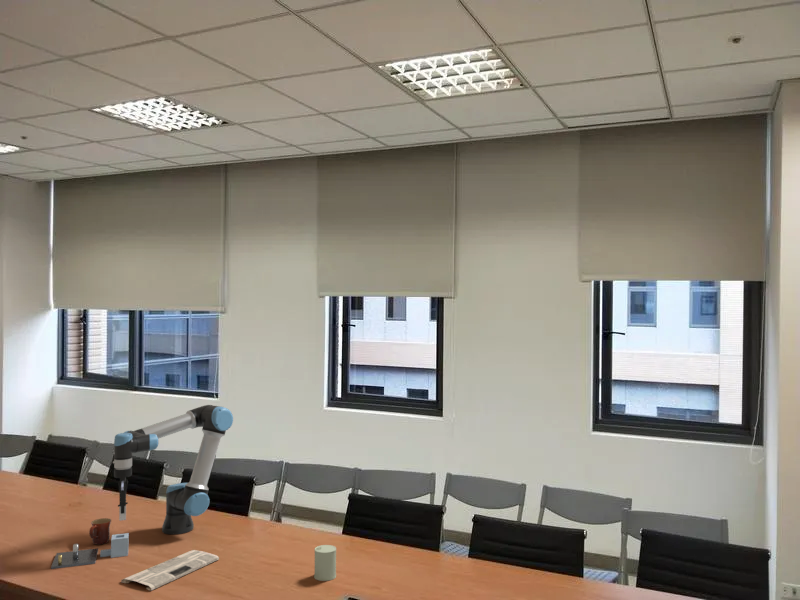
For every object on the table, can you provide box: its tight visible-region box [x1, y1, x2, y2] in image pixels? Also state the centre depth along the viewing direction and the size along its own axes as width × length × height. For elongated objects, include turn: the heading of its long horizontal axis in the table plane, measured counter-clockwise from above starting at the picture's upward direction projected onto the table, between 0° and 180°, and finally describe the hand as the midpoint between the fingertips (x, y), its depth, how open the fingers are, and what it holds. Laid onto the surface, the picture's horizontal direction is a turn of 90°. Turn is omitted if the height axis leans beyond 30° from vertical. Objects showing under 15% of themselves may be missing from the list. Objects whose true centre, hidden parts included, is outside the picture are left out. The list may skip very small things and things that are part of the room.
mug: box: [88, 517, 112, 546], centre depth 298 cm, size 12×9×10 cm
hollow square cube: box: [99, 532, 130, 559], centre depth 284 cm, size 12×7×8 cm, turn 112°
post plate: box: [50, 543, 99, 570], centre depth 278 cm, size 17×17×6 cm
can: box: [313, 544, 337, 582], centre depth 261 cm, size 9×9×12 cm
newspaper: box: [120, 549, 220, 592], centre depth 266 cm, size 37×19×3 cm, turn 152°
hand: (122, 519), depth 284 cm, fingers closed
